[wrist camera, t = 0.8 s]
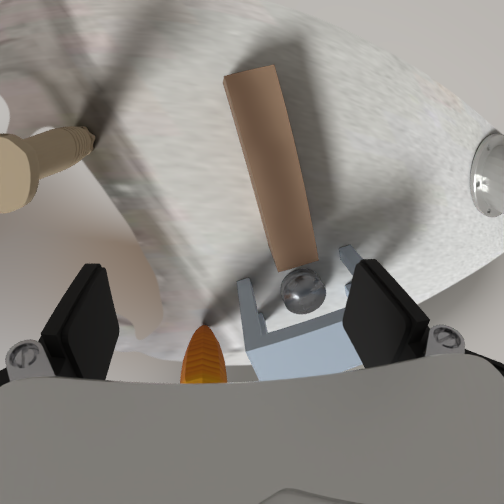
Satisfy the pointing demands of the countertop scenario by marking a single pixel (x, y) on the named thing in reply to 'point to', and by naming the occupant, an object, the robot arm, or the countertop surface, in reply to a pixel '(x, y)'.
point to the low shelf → (298, 338)
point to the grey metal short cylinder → (302, 291)
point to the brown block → (272, 164)
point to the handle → (37, 161)
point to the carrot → (203, 359)
